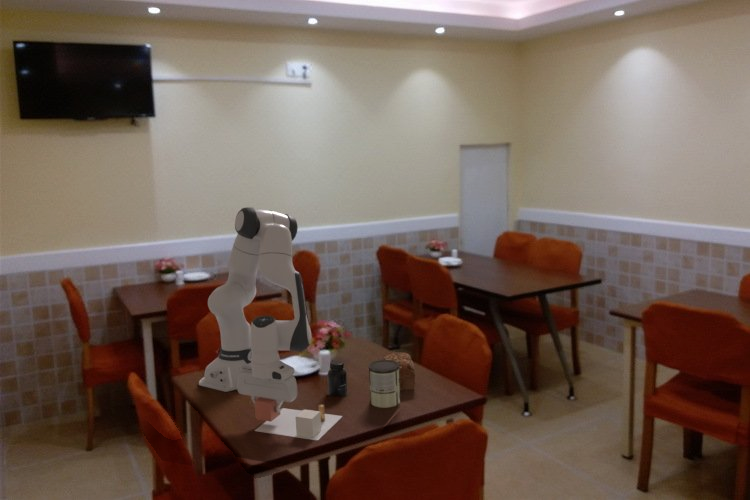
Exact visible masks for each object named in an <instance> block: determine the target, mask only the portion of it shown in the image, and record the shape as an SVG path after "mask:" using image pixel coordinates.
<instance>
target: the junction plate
mask: <svg viewBox="0 0 750 500" xmlns="http://www.w3.org/2000/svg"><path fill="white" fill-rule="evenodd" d="M302 411H303V410H300V409H291V408H285V407H282V408H281V411H280V415H279V416H278V417H276V418H275V419H274V420H272V421H271V422H270V421H265V422H263V423H262V424H261V425H260V426H258V427H257V428H256V429H254V432H257V433H258V432H260V433H266V434H273V435H279V436H286V437H292V438H297V439H298V438H300V439H304V440H305V439H306V440H312V441H319V440H320V439H321V438H323V437H324V435H325V434H327V432H328V431H329V430H331V428H332V427H334V426H335V424H337V422H338V421H339V420H341V419H342V418H343V415H336V414H330V413H329V414H328V413H325V421H324V422H321V431H320V432H318V433H317V434H316V435H315V436H314V437H313V438H312V437H305V436H299V435H297V434H296V416H297V415H298V414H299V413H300V412H302Z"/></svg>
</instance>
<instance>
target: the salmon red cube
mask: <svg viewBox="0 0 750 500" xmlns="http://www.w3.org/2000/svg"><path fill="white" fill-rule="evenodd" d="M257 398H258V399H257V400H255V404H254V410H255V411H254V413H255V419H256V420H259V421H265V422H266V421H270V422H271V421H272V420H274V419H275V418H276V417H278V416H279V415H280V412H279V413H276V412H274V407H275V406H276V405H277V404H278V403H276V400H274V399H268V398H262V397H257Z"/></svg>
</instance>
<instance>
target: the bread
mask: <svg viewBox="0 0 750 500" xmlns="http://www.w3.org/2000/svg"><path fill="white" fill-rule="evenodd" d="M382 360H392V361H396V362H398V363H399V388H400V392H410V391H414V389H415V385H416V368H415V364H414V362H413V360H412V357H411V355H410V354H409V353H407V352H390V353H389V354H387V355H385V356H383V359H382Z"/></svg>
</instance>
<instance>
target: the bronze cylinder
mask: <svg viewBox="0 0 750 500" xmlns="http://www.w3.org/2000/svg"><path fill="white" fill-rule="evenodd" d="M317 411H320V415H321V422H324V421H325V414H326V413H325V411H326V410H325V404H322V403H321V404H318V405H317Z"/></svg>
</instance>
